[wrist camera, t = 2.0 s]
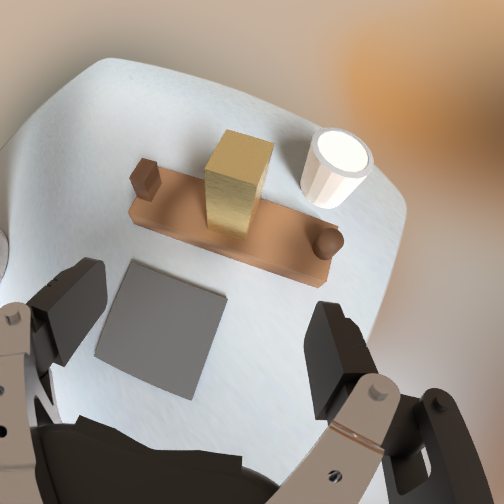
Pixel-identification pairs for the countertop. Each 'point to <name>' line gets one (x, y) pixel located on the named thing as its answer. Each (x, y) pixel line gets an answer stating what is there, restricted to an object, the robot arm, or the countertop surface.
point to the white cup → (334, 166)
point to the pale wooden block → (235, 183)
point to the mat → (160, 330)
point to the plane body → (250, 252)
